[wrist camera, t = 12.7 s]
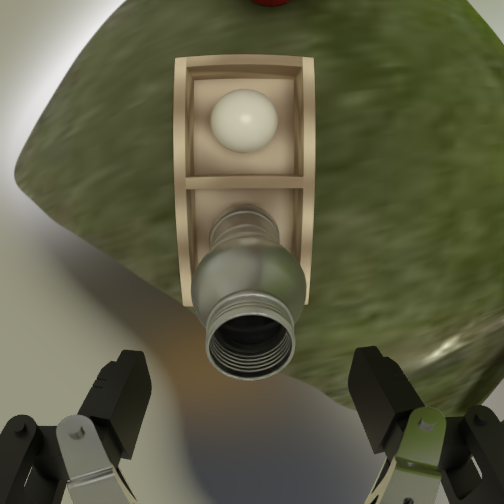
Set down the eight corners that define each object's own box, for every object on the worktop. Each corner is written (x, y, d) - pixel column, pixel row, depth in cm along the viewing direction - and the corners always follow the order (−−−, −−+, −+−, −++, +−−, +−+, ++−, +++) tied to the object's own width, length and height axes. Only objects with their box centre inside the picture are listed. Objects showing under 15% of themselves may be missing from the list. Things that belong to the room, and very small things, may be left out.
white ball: (213, 97, 26) (207, 82, 21) (274, 96, 27) (282, 81, 21) (213, 154, 28) (206, 153, 22) (274, 154, 28) (282, 152, 23)
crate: (186, 74, 26) (175, 58, 21) (301, 74, 26) (313, 58, 21) (191, 283, 33) (183, 306, 28) (298, 282, 33) (307, 304, 28)
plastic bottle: (206, 206, 30) (147, 289, 11) (272, 195, 30) (328, 261, 10) (217, 266, 32) (190, 408, 13) (280, 256, 32) (332, 389, 12)
